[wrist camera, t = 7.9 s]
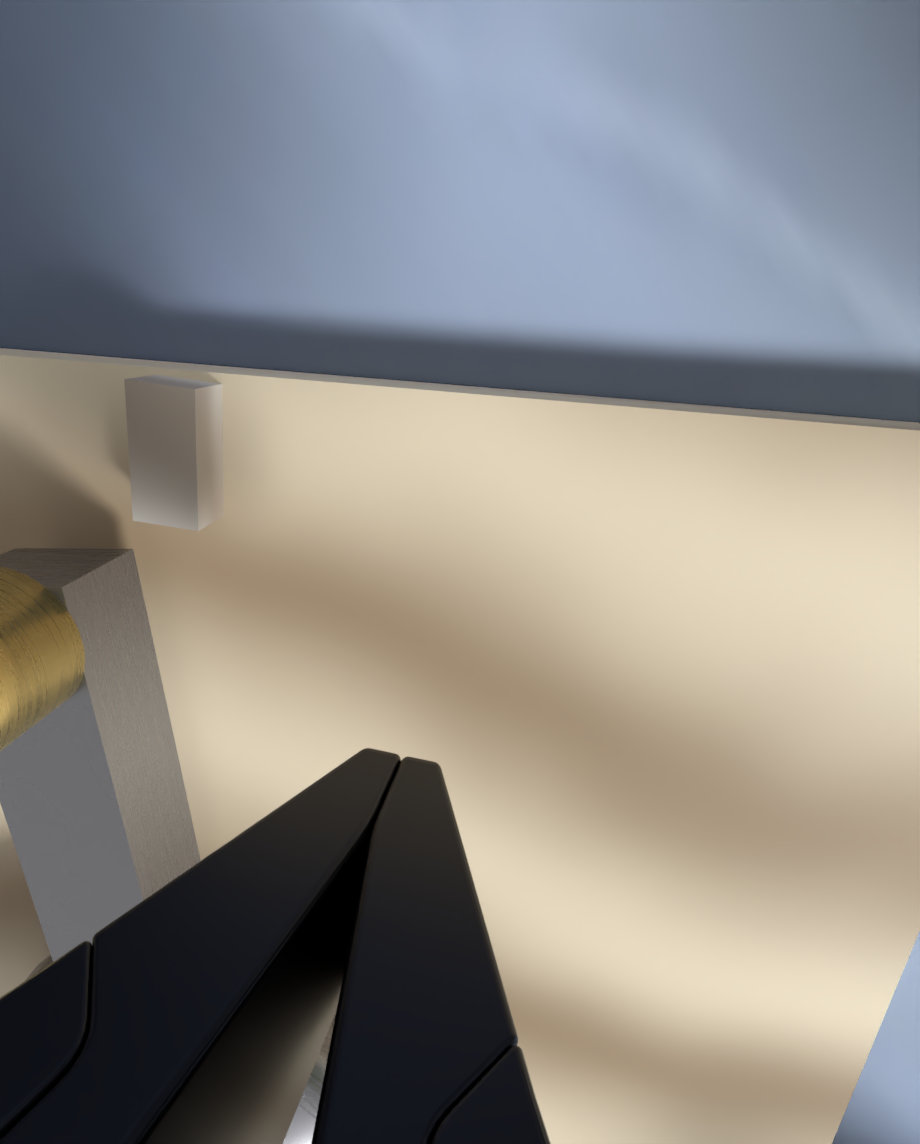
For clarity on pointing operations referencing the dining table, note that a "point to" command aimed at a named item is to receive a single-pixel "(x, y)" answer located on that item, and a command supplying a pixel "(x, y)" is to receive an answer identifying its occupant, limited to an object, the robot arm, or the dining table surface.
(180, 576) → the stand board
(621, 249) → the dining table surface
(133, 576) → the lever
